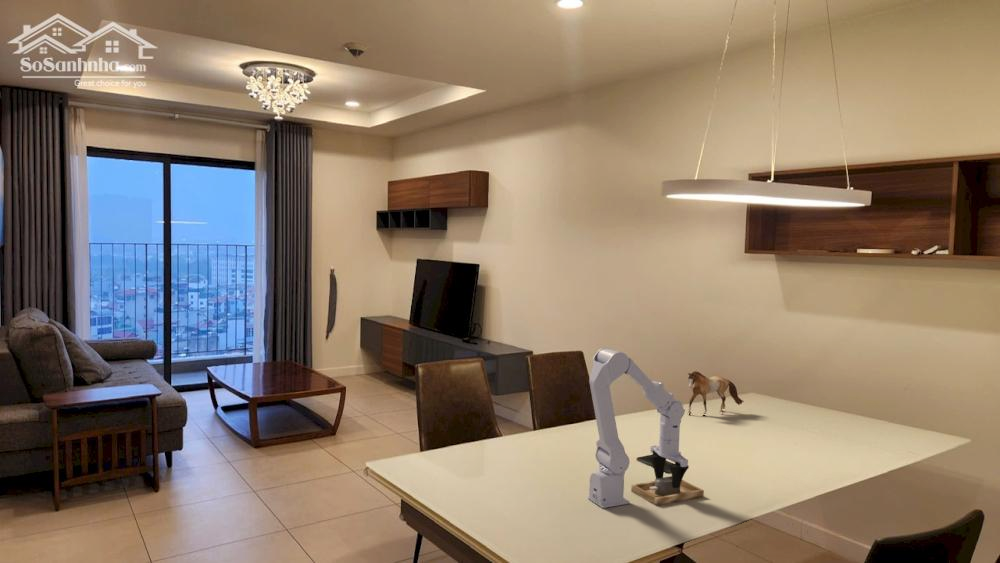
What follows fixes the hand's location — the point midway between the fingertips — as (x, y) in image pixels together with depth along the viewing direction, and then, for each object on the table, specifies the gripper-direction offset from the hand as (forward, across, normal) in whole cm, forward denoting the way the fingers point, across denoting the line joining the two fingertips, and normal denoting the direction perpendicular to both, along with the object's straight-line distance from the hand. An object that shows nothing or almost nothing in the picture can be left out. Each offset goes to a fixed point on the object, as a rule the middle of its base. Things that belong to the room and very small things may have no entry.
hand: (667, 482), depth 187 cm
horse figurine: (+4, +66, -83) cm, 106 cm away
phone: (+4, +22, -15) cm, 27 cm away
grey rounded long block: (+3, 0, 0) cm, 3 cm away
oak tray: (+3, 0, 0) cm, 3 cm away
